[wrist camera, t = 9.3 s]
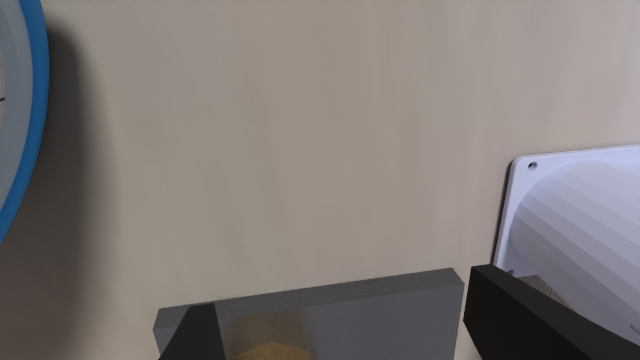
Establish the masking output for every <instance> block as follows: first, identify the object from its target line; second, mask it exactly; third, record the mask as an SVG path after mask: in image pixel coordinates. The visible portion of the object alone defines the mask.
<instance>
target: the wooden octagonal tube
mask: <svg viewBox="0 0 640 360" xmlns="http://www.w3.org/2000/svg"><path fill="white" fill-rule="evenodd" d="M230 360H313V359H312V357H311V355H310V353H309V351H308V350H304V349H300V348H295V347H291V346H287V345H282V344H278V343H274V342H269V343H266V344H263V345H261V346H258V347H256V348H253V349H250V350H248V351H245V352H242V353H240V354H237V355H235V356H232V357H231V358H230Z"/></svg>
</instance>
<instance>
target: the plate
mask: <svg viewBox="0 0 640 360" xmlns="http://www.w3.org/2000/svg"><path fill="white" fill-rule="evenodd" d="M464 285H465V284H464V282H463V281H462V280H461V279H460V277H459V276H458V275H457V273H456V272H455V271H454V269H453V268H447V269H440V270H433V271H426V272H419V273H411V274H404V275H397V276H390V277H383V278H376V279H369V280H362V281H354V282H347V283H340V284H333V285H326V286H319V287H312V288H304V289H297V290H290V291H283V292H276V293H269V294H262V295H255V296H247V297H240V298H233V299H226V300H219V301H212V302H205V303H197V304H190V305H183V306H176V307H169V308H162V309H159V311H158V314H157V318H156V321H155V324H154V327H153V332H154V335H155V339H156V342H157V345H158V349H159V352H160V355H161V354H162V353H163V351H164V350H165V348H166V346H167V345H168V343H169V341H170V339H171V338H172V336H173V334H174V333H175V331H176V329H177V327H178V326H179V324H180V322H181V320H182V318H183V316H184V315H185V313H186V311H187V309H188V308H189V307H190V306H195V305H202V304H209V303H214V304H215V309H216V314H217V319H218V324H219V329H220V333H221V338H222V343H223V348H224V353H225V358H226V360H230V358H231V357H232V356H235V355H237V354H240V353H242V352H245V351H248V350H250V349H253V348H256V347H258V346H261V345H263V344H266V343H269V342H274V343H278V344H282V345H287V346H291V347H295V348H300V349H304V350H308V351H309V353H310V355H311V357H312V359H313V360H453V359H454V352H455V346H456V339H457V332H458V325H459V319H460V312H461V305H462V299H463V292H464Z"/></svg>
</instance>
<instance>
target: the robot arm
mask: <svg viewBox="0 0 640 360" xmlns="http://www.w3.org/2000/svg"><path fill="white" fill-rule="evenodd" d="M530 163H532V165H531V166H530V167H529V168H528V166H529V164H530ZM507 271H508V272H507ZM532 275H538V276H539V277H540V278H541V279H542V280H543V281H544V282H545V283H546V284H547V285H548V286H549V287H550V288H551V289H552V290H553V291H555V292H556V293H557V294H558V295H559V296H560V297H561V298H562V299H563V300H564V301H565V302H566V303H567V304H568V305H569V306H570V307H571V308H572V309H574V310H575V311H576V312H577V313H576V312H574V311H572V310H570V309H569V308H567V307H565V306H563V305H562V304H560V303H558V302H556V301H555V300H553V299H551V298H550V297H548V296H546V295H545V294H543V293H541V292H539V291H538V290H536V289H534V288H533V287H531V286H529V285H528V284H526V283H524V282H523V281H521V280H519V279H517V278H519V277H525V276H532ZM463 322H464V324H465V326H466V328H467V330H468V332H469V334H470V336H471V339H472V341H473V343H474V345H475V346H476V348H477V350H478V352H479V354H480V356H481V358H482V359H483V360H640V144H635V145H625V146H616V147H606V148H596V149H587V150H577V151H567V152H558V153H548V154H538V155H529V156H521V157H518V158H516V159H515V160H514V161H513V162H512V165H511V170H510V175H509V181H508V186H507V192H506V197H505V203H504V208H503V214H502V219H501V225H500V230H499V235H498V241H497V246H496V252H495V257H494V263H493V264H487V265H479V266H472V267H471V272H470V279H469V285H468V292H467V298H466V305H465V311H464V318H463ZM158 360H226V358H225V353H224V348H223V343H222V338H221V333H220V329H219V324H218V319H217V314H216V309H215V304H214V303H209V304H202V305H195V306H190V307H189V308H188V309H187V311H186V313H185V315H184V316H183V318H182V320H181V322H180V324H179V326H178V327H177V329H176V331H175V333H174V334H173V336H172V338H171V339H170V341H169V343H168V345H167V346H166V348H165V350H164V351H163V353H162V354H161V356H160V358H159V359H158Z"/></svg>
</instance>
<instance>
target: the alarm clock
mask: <svg viewBox="0 0 640 360" xmlns="http://www.w3.org/2000/svg"><path fill="white" fill-rule="evenodd" d="M48 94H49V48H48V37H47V31H46V24H45V19H44V14H43V9H42V5H41V2H40V0H0V244H1V243H2V241H3V239H4V237H5V235H6V233H7V231H8V230H9V228H10V226H11V224H12V222H13V220H14V217H15V215H16V213H17V211H18V209H19V206H20V204H21V202H22V200H23V197H24V195H25V192H26V189H27V187H28V184H29V181H30V178H31V175H32V172H33V169H34V166H35V163H36V159H37V156H38V152H39V148H40V144H41V140H42V135H43V130H44V125H45V119H46V113H47V104H48Z"/></svg>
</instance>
